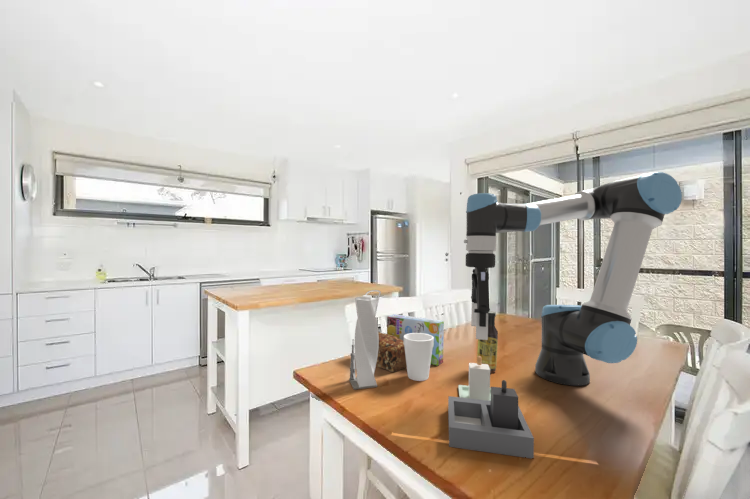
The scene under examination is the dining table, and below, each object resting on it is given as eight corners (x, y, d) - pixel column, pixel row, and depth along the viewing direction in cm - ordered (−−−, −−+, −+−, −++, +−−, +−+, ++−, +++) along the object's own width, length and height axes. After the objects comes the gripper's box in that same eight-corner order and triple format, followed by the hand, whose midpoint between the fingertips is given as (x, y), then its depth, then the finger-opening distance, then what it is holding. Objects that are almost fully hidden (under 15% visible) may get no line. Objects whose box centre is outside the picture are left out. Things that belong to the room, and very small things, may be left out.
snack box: (444, 361, 114) (444, 320, 114) (438, 366, 109) (438, 323, 109) (392, 351, 125) (393, 313, 125) (385, 355, 120) (386, 315, 120)
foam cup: (432, 386, 93) (433, 342, 93) (401, 383, 95) (402, 340, 95) (433, 373, 102) (433, 333, 102) (405, 371, 104) (405, 332, 104)
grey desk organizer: (517, 420, 75) (518, 370, 75) (533, 458, 61) (534, 397, 61) (448, 412, 78) (448, 364, 78) (449, 446, 65) (449, 388, 64)
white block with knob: (487, 397, 85) (488, 354, 85) (489, 404, 81) (490, 359, 81) (468, 395, 86) (469, 352, 86) (469, 402, 82) (470, 357, 82)
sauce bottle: (477, 372, 103) (477, 312, 103) (476, 366, 110) (477, 309, 110) (498, 375, 102) (499, 313, 102) (496, 368, 108) (497, 310, 108)
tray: (494, 393, 89) (494, 388, 89) (503, 416, 76) (503, 411, 76) (458, 389, 91) (458, 384, 91) (460, 411, 79) (460, 406, 78)
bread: (356, 359, 116) (356, 332, 116) (377, 353, 123) (378, 327, 123) (392, 374, 102) (392, 343, 102) (413, 366, 109) (414, 337, 109)
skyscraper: (375, 377, 99) (376, 288, 99) (383, 388, 91) (384, 291, 91) (349, 379, 97) (350, 288, 97) (354, 391, 89) (355, 292, 89)
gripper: (463, 252, 97) (461, 320, 97) (469, 252, 72) (467, 344, 72) (488, 252, 95) (487, 322, 95) (504, 253, 71) (502, 347, 71)
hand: (478, 332), depth 84 cm, fingers open, 13 cm apart
